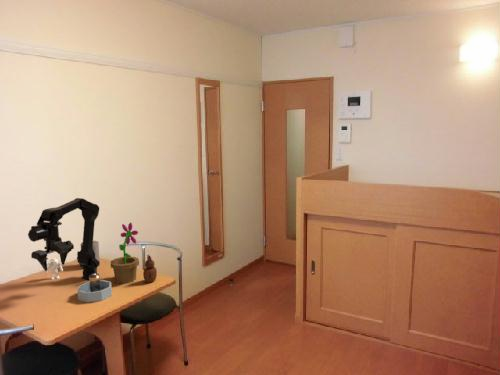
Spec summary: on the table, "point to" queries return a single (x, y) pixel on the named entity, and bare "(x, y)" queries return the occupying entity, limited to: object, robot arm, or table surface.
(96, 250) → the pillar candle
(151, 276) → the wooden figurine
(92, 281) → the battery cell
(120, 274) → the flowerpot
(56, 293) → the table surface
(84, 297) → the ceramic bowl
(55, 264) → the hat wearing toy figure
